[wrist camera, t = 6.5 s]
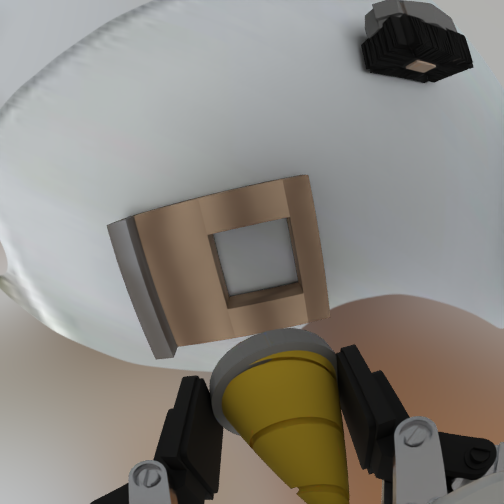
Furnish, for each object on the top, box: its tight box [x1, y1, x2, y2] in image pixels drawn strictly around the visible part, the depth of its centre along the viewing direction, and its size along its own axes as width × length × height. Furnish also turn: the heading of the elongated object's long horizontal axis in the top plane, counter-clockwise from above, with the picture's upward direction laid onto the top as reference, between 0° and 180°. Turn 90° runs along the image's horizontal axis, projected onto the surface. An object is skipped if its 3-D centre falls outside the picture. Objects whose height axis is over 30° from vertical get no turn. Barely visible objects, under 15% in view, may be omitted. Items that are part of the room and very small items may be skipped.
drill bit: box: [209, 328, 349, 504], centre depth 9 cm, size 5×5×10 cm
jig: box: [107, 175, 330, 359], centre depth 26 cm, size 18×14×5 cm
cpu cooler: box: [361, 0, 473, 83], centre depth 18 cm, size 10×6×10 cm, turn 95°
